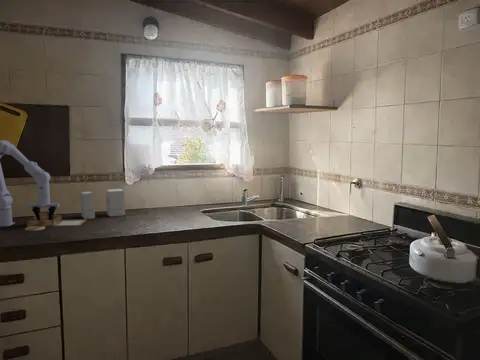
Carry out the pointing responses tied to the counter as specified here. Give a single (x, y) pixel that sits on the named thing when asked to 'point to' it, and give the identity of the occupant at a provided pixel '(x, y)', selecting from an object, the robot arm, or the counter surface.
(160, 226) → the counter surface
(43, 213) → the pot
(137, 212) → the counter surface
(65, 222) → the lid
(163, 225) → the counter surface
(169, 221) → the counter surface
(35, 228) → the trivet
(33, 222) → the cold frame
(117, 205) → the supplement box
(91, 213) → the skincare box
